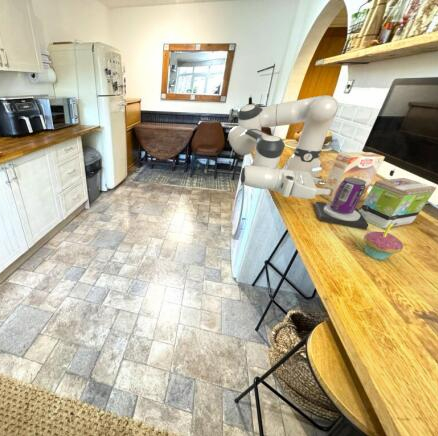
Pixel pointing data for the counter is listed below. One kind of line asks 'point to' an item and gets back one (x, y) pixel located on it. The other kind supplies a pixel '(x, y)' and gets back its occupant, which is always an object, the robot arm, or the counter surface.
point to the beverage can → (348, 195)
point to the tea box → (395, 201)
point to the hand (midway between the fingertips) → (327, 187)
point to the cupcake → (382, 244)
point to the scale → (340, 216)
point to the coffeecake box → (352, 170)
